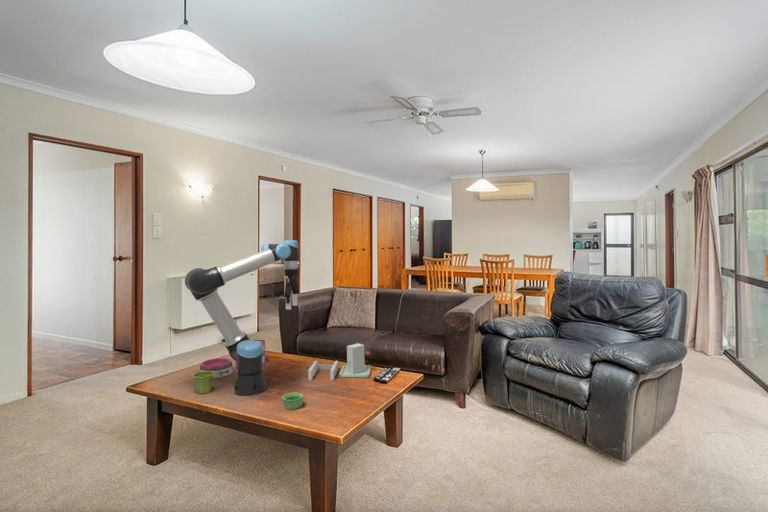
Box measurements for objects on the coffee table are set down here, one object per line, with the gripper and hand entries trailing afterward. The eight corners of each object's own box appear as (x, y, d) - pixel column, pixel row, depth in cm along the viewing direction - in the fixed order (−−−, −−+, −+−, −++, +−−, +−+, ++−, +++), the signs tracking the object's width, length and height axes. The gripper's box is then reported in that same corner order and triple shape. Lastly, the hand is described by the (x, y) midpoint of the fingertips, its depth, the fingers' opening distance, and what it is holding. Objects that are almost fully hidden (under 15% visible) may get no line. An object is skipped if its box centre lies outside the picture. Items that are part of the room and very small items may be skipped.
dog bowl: (235, 376, 228) (234, 364, 227) (197, 381, 221) (197, 368, 220) (233, 367, 245) (233, 355, 244) (198, 371, 238) (198, 359, 237)
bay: (333, 379, 220) (333, 370, 219) (308, 379, 220) (308, 370, 220) (338, 368, 239) (338, 359, 239) (315, 368, 239) (315, 359, 239)
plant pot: (218, 390, 206) (218, 372, 205) (201, 396, 198) (201, 378, 197) (206, 387, 211) (205, 370, 210) (189, 393, 202) (188, 375, 202)
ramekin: (298, 400, 192) (297, 391, 191) (306, 406, 184) (306, 396, 184) (279, 405, 186) (279, 395, 186) (287, 411, 179) (287, 401, 179)
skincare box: (358, 369, 236) (358, 342, 235) (365, 371, 231) (365, 344, 231) (346, 372, 231) (346, 345, 230) (353, 374, 226) (352, 347, 225)
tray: (369, 378, 222) (369, 375, 222) (338, 378, 222) (338, 375, 222) (370, 367, 240) (370, 365, 240) (343, 367, 240) (343, 365, 240)
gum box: (247, 374, 231) (247, 349, 230) (234, 373, 232) (233, 349, 231) (265, 361, 254) (265, 339, 254) (253, 361, 256) (253, 339, 255)
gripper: (292, 270, 217) (292, 311, 217) (303, 267, 241) (303, 304, 242) (277, 270, 217) (278, 311, 217) (290, 267, 242) (291, 304, 242)
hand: (291, 307), depth 230 cm, fingers open, 13 cm apart
